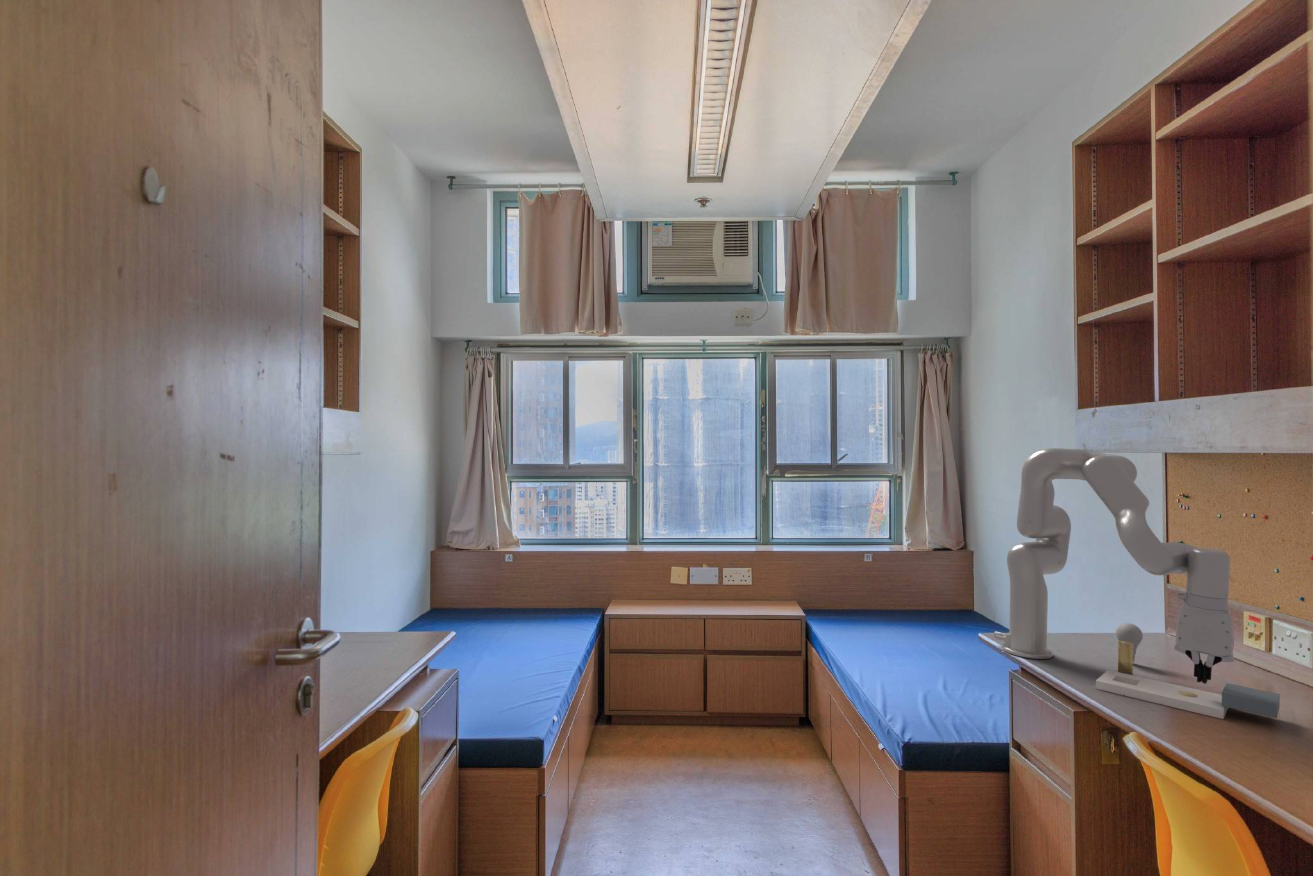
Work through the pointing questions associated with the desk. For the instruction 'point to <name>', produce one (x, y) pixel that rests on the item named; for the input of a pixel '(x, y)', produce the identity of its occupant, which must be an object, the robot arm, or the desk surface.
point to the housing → (1251, 700)
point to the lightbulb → (1130, 635)
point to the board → (1163, 693)
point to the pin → (1125, 657)
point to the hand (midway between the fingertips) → (1202, 681)
